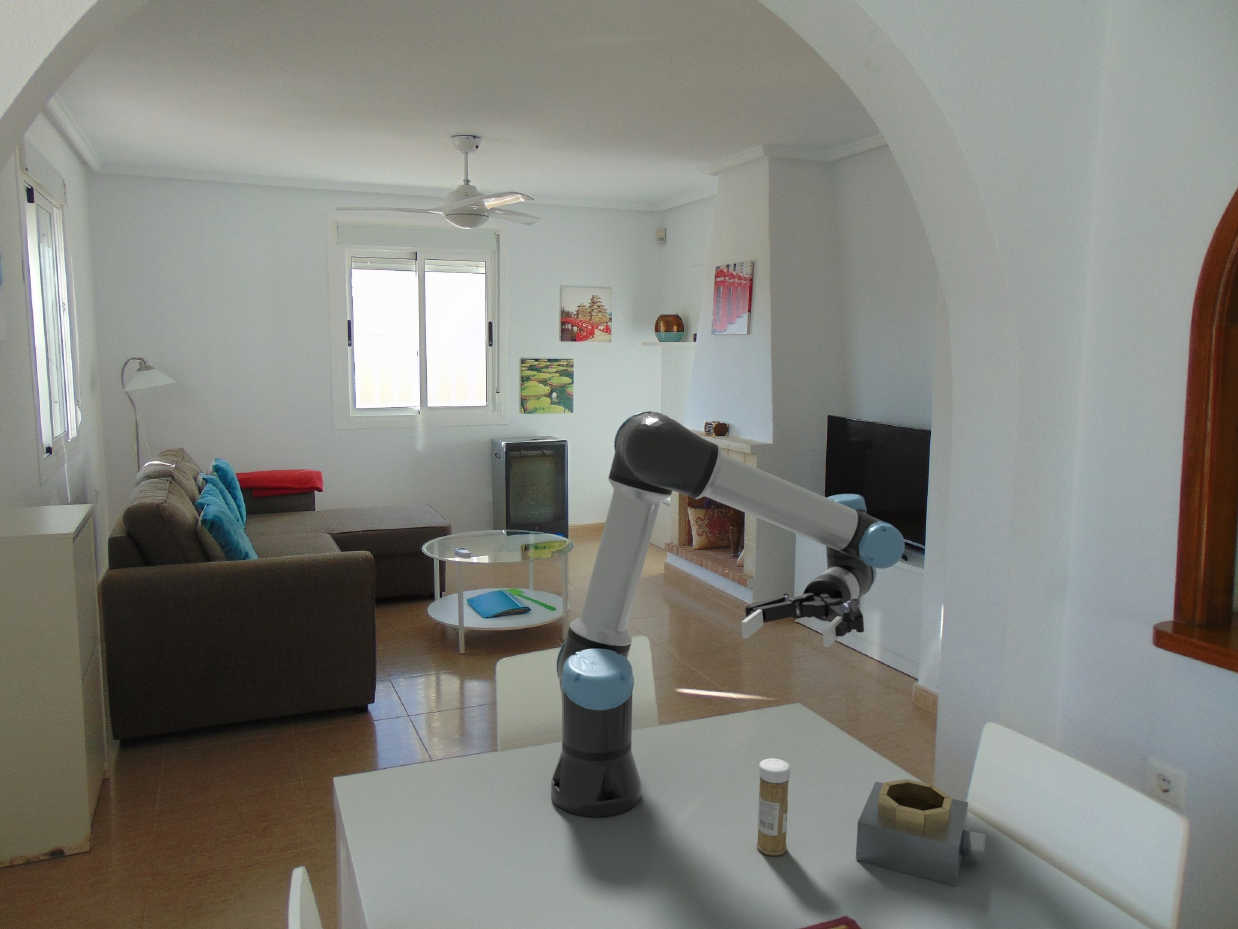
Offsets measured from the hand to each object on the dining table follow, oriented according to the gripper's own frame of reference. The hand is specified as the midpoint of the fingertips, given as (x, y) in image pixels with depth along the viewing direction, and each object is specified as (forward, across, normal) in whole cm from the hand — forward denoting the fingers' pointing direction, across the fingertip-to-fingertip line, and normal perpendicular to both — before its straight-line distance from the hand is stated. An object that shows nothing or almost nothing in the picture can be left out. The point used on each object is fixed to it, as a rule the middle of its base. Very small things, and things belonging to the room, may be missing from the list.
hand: (783, 634), depth 138 cm
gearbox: (-2, -19, -33) cm, 38 cm away
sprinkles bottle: (+11, 0, -30) cm, 32 cm away
